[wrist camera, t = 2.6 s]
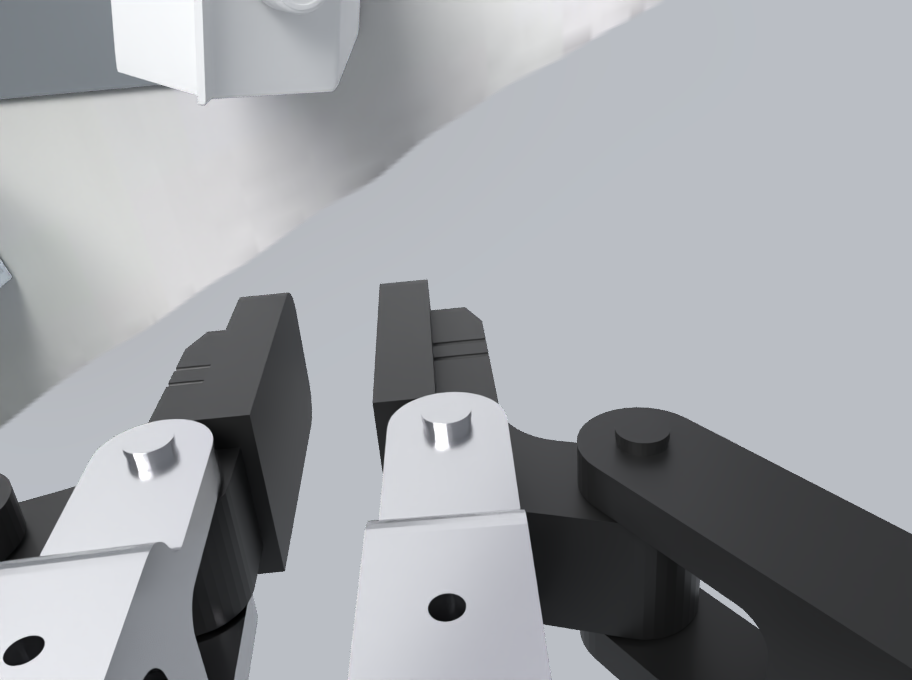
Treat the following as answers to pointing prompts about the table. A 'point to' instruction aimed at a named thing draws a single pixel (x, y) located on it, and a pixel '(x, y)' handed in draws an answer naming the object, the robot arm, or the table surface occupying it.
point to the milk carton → (236, 44)
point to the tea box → (4, 274)
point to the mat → (58, 48)
